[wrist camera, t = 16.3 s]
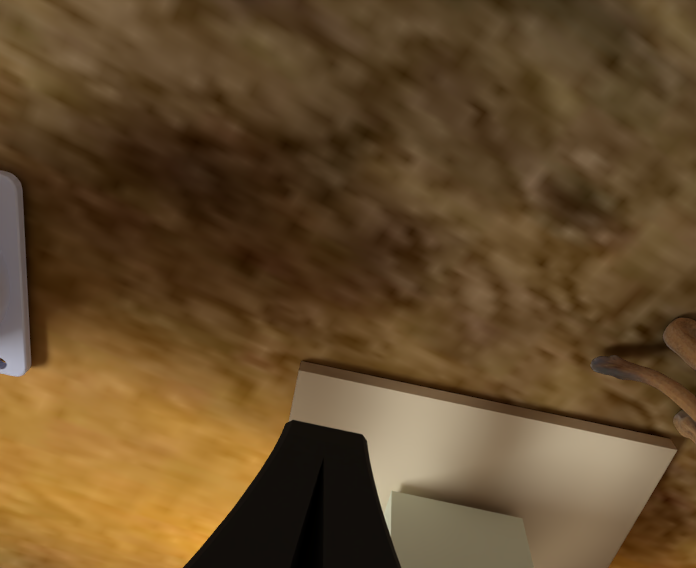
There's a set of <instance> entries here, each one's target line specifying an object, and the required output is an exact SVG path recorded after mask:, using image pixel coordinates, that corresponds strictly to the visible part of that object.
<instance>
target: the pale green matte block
mask: <svg viewBox="0 0 696 568" xmlns="http://www.w3.org/2000/svg"><path fill="white" fill-rule="evenodd" d="M384 518H385V521H386V524H387V527H388V530H389V533H390V536H391V539H392V542H393V545H394V548H395V551H396V554H397V557H398V559H399V562H400V565H401V568H534V566H533V562H532V557H531V553H530V549H529V544H528V540H527V536H526V531H525V527H524V523H523V518H519V517H514V516H509V515H504V514H500V513H495V512H490V511H485V510H481V509H476V508H471V507H467V506H462V505H457V504H452V503H448V502H443V501H438V500H433V499H429V498H424V497H419V496H415V495H410V494H405V493H400V492H396V491H391V494H390V497H389V500H388V503H387V506H386V509H385V512H384Z"/></svg>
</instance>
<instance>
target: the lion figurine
mask: <svg viewBox="0 0 696 568" xmlns="http://www.w3.org/2000/svg"><path fill="white" fill-rule="evenodd" d="M663 339H664V342H665V343H666V345H667V346H668V347H669V348H670V349H671V350H673V351H674V352H675V353H677V354H678V355H679V356H680V357H681V358H682V359H683V360H684V361H685V362H686V363H687V364H688V365H689V366H690V367H691V368H693V369H694V370H695V371H696V321H694V320H692V319H690V318H677V319H675V320H674V321H672V322H671V323H670V324H669V325H668V327H667V328H666V330H665V331H664V334H663ZM590 366H591V368H592V370H594V371H595V372H598V373H602V374H606V375H611V376H614V377H616V378H618V379H622V380H634V381H639V382H643V383H646V384H649V385H651V386H653V387H655V388H657V389H658V390H660V391H662V392H663V393H664V394H666V395H667V396H668V397H669V398H671V399H672V400H673V401H674V402H675V403H676V404H677V405H678V406H679V407H681V408H682V409H683V410H681V411H679V412H678V413H677V414H676V415H675V417H674V420H673V423H674V425H675V427H676V429H677V430H678V432H679V433H680V434H681V435H682V436H684V437H686V438H690V439H691V440H692V441H694V443H695V444H696V396H694V395H693V394H692V393H691V392H689V391H688V390H687V389H686V388H684V387H683V386H682V385H681V384H679V383H678V382H676V381H674V380H672V379H671V378H669V377H667V376H665V375H664V374H662V373H660V372H658V371H655V370H652V369H650V368H646V367H642V366H639V365H636V364H634V363H631V362H628V361H626V360H624V359H622V358H620V357H618V356H616V355H612V356H609V357H607V356H600V357H597V358H595V359H593V360H592V362H591V365H590Z"/></svg>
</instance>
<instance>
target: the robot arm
mask: <svg viewBox="0 0 696 568" xmlns="http://www.w3.org/2000/svg"><path fill="white" fill-rule="evenodd" d="M0 358H1V359H3V360H4V361H5V362H6V363H4V362H2V361H1V360H0V373H1V374H6V375H11V376H22V375H24V374H25V373H26V372H27V371H28V370H29V369H30V368H31V348H30V328H29V309H28V289H27V269H26V249H25V229H24V209H23V190H22V185H21V183H20V181H19V180H18V178H17V177H16V176H14V175H13V174H11V173H9V172H6V171H2V170H0ZM183 568H401V565H400V562H399V559H398V557H397V554H396V551H395V548H394V545H393V542H392V539H391V536H390V533H389V530H388V527H387V524H386V521H385V518H384V514H383V511H382V507H381V504H380V501H379V497H378V493H377V489H376V485H375V481H374V477H373V473H372V468H371V463H370V458H369V452H368V444H367V440H366V439H365V437H364V436H363V434H359V433H354V432H349V431H344V430H340V429H335V428H330V427H325V426H321V425H316V424H311V423H306V422H302V421H297V420H292V421H290V422H288V423H286V424H285V426H284V429H283V431H282V434H281V436H280V438H279V440H278V442H277V444H276V445H275V447H274V449H273V451H272V452H271V454H270V456H269V458H268V459H267V461H266V462H265V464H264V465H263V467H262V468H261V470H260V472H259V473H258V475H257V476H256V477H255V479H254V480H253V482H252V483H251V484H250V486H249V487H248V489H247V490H246V491H245V493H244V494H243V495H242V497H241V498H240V500H239V501H238V502H237V504H236V505H235V506H234V508H233V509H232V510H231V512H230V513H229V514H228V515H227V517H226V518H225V519H224V520H223V521H222V523H221V524H220V525H219V526H218V528H217V529H216V530H215V531H214V532H213V534H212V535H211V536H210V537H209V538H208V540H207V541H206V542H205V543H204V544H203V546H202V547H201V548H200V549H199V550H198V552H197V553H196V554H195V555H194V556H193V557H192V558H191V559H190V560H189V562H188V563H187V564H186V565H185V566H184V567H183Z"/></svg>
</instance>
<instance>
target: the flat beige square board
mask: <svg viewBox="0 0 696 568" xmlns="http://www.w3.org/2000/svg"><path fill="white" fill-rule="evenodd" d="M292 420H297V421H302V422H306V423H311V424H316V425H321V426H325V427H330V428H335V429H340V430H344V431H349V432H354V433H359V434H363V436H364V437H365V439H366V440H367V444H368V452H369V458H370V463H371V468H372V473H373V477H374V481H375V485H376V489H377V493H378V497H379V501H380V504H381V507H382V511H383V514H384V512H385V509H386V506H387V503H388V500H389V497H390V494H391V491H396V492H400V493H405V494H410V495H415V496H419V497H424V498H429V499H433V500H438V501H443V502H448V503H452V504H457V505H462V506H467V507H471V508H476V509H481V510H485V511H490V512H495V513H500V514H504V515H509V516H514V517H519V518H523V523H524V527H525V531H526V536H527V540H528V544H529V549H530V553H531V557H532V562H533V566H534V568H608V567H609V565H610V564H611V562H612V560H613V559H614V557H615V555H616V553H617V552H618V550H619V548H620V547H621V545H622V543H623V542H624V540H625V538H626V536H627V535H628V533H629V531H630V530H631V528H632V526H633V525H634V523H635V521H636V519H637V518H638V516H639V514H640V513H641V511H642V509H643V508H644V506H645V504H646V503H647V501H648V499H649V497H650V496H651V494H652V492H653V491H654V489H655V487H656V486H657V484H658V482H659V480H660V479H661V477H662V475H663V474H664V472H665V470H666V469H667V467H668V465H669V463H670V462H671V460H672V458H673V457H674V455H675V453H676V452H677V449H676V447H675V445H674V444H673V442H672V440H671V439H668V438H663V437H659V436H654V435H649V434H645V433H640V432H635V431H630V430H626V429H621V428H616V427H611V426H607V425H602V424H597V423H593V422H588V421H583V420H578V419H574V418H569V417H564V416H559V415H555V414H550V413H545V412H541V411H536V410H531V409H526V408H522V407H517V406H512V405H507V404H503V403H498V402H493V401H488V400H484V399H479V398H474V397H470V396H465V395H460V394H455V393H451V392H446V391H441V390H436V389H432V388H427V387H422V386H418V385H413V384H408V383H403V382H399V381H394V380H389V379H384V378H380V377H375V376H370V375H365V374H361V373H356V372H351V371H347V370H342V369H337V368H332V367H328V366H323V365H318V364H313V363H309V362H304V361H301V364H300V368H299V372H298V377H297V382H296V387H295V393H294V398H293V403H292V408H291V413H290V418H289V422H290V421H292Z"/></svg>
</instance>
